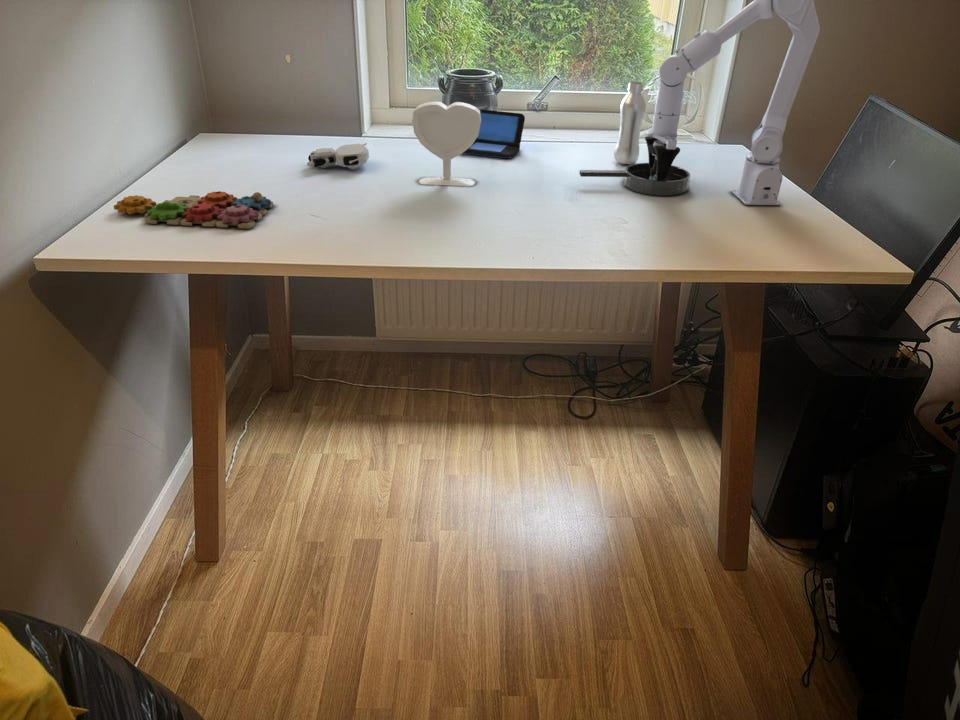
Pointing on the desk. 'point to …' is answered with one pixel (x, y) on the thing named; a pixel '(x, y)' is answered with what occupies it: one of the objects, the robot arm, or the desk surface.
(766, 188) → the robot arm
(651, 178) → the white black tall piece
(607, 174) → the pan handle
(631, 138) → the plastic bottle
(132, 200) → the gear puzzle
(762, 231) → the desk surface
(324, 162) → the robot toy
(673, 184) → the pan
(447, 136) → the heart sculpture
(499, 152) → the game console
